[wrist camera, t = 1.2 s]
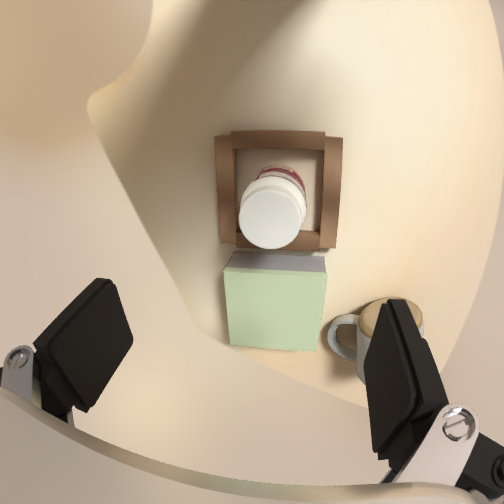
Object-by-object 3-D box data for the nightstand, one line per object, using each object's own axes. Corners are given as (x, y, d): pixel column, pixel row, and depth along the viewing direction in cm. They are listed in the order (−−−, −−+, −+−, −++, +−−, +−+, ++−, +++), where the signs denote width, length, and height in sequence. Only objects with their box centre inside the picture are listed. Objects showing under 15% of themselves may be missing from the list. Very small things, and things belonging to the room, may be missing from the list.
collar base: (218, 131, 24) (214, 132, 23) (340, 133, 22) (342, 133, 21) (224, 241, 28) (221, 246, 27) (333, 246, 27) (334, 252, 26)
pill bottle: (279, 224, 27) (270, 268, 19) (242, 189, 26) (217, 220, 18) (316, 190, 25) (323, 222, 17) (278, 152, 24) (267, 168, 16)
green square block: (233, 251, 29) (223, 271, 25) (324, 256, 27) (327, 277, 24) (237, 321, 33) (230, 344, 29) (315, 326, 31) (316, 351, 28)
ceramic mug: (414, 285, 27) (436, 332, 20) (411, 338, 30) (425, 385, 24) (321, 303, 30) (322, 354, 23) (331, 354, 33) (331, 403, 27)
